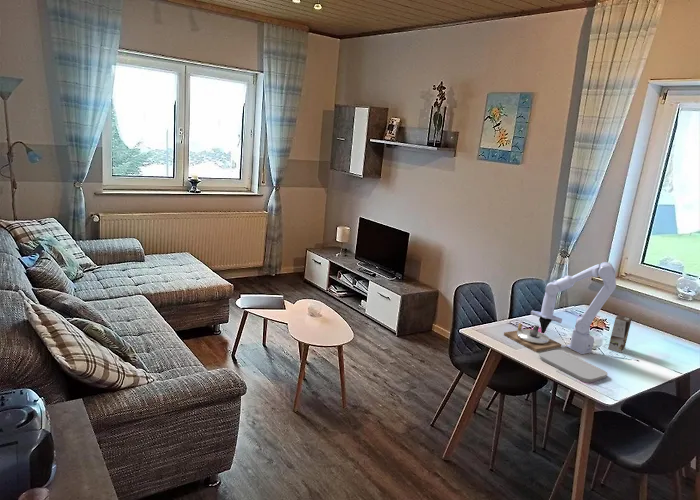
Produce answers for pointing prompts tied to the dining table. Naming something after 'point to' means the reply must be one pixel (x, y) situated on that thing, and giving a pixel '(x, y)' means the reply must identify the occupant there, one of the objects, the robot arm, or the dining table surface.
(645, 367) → the dining table surface
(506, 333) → the base board
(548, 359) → the tablet
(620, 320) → the coffee box
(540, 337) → the white round dish
